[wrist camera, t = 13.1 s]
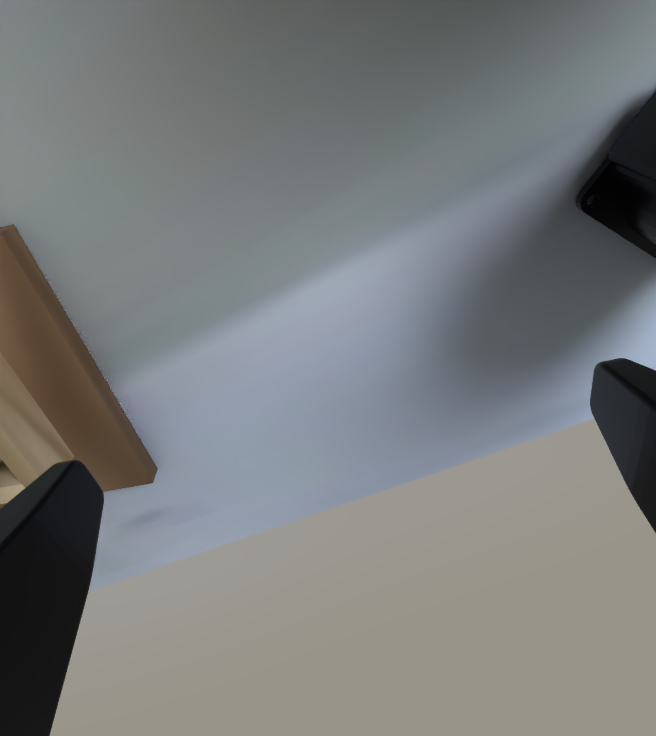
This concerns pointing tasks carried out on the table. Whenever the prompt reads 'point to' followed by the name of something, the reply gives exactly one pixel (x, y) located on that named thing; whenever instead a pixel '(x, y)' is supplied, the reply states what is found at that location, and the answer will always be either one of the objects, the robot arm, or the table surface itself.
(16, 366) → the dock
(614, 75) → the table surface
